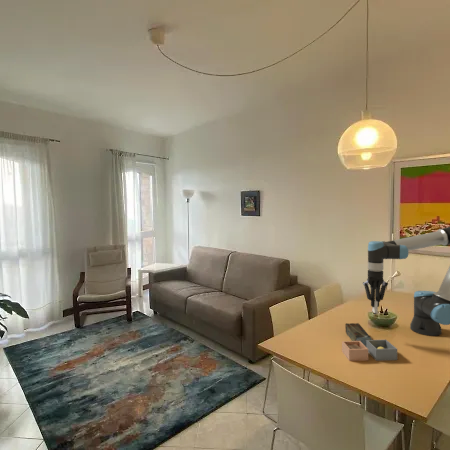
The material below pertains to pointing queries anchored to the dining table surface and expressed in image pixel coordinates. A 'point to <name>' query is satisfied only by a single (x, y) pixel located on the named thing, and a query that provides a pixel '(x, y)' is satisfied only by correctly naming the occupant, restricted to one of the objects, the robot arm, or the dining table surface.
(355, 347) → the walnut cube
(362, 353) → the pink open box
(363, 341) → the dark grey long box
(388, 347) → the grey tub
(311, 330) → the dining table surface
